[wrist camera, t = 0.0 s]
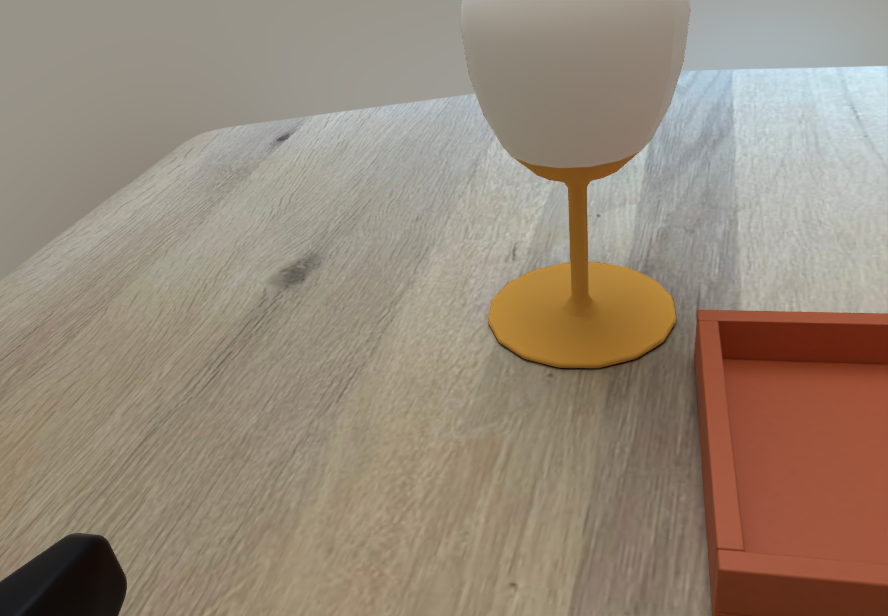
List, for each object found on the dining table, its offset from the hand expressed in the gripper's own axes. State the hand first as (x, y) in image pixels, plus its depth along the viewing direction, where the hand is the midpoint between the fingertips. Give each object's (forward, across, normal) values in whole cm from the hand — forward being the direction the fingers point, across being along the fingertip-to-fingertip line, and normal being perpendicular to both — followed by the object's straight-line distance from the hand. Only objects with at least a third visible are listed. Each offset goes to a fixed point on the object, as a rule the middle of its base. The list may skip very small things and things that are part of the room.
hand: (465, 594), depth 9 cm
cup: (+28, +1, +15) cm, 31 cm away
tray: (+18, -11, +15) cm, 26 cm away
